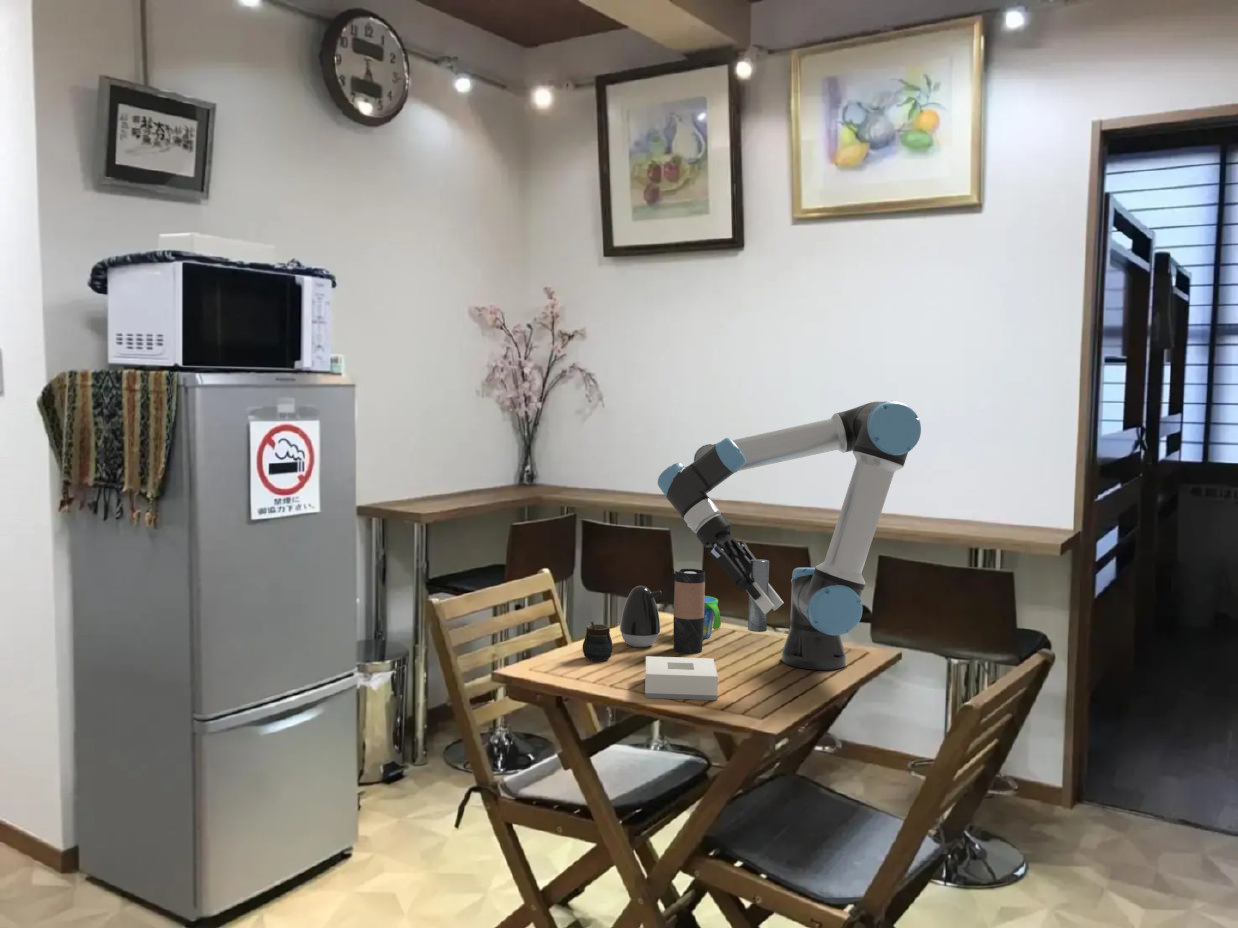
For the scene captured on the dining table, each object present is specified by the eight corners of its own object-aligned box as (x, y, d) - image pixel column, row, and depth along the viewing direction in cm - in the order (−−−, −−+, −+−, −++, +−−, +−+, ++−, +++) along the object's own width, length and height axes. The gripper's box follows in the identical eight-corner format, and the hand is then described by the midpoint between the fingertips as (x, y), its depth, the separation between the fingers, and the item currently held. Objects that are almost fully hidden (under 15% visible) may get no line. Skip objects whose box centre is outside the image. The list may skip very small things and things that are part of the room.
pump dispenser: (654, 651, 248) (656, 590, 248) (614, 647, 251) (616, 587, 250) (664, 642, 258) (666, 584, 257) (625, 639, 261) (627, 581, 260)
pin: (765, 628, 217) (768, 559, 216) (767, 632, 213) (770, 562, 212) (746, 627, 217) (749, 559, 216) (748, 631, 213) (751, 561, 212)
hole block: (712, 680, 223) (713, 658, 222) (717, 700, 208) (717, 676, 208) (645, 678, 223) (645, 656, 223) (644, 697, 208) (645, 674, 208)
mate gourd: (615, 656, 242) (616, 616, 241) (608, 664, 235) (609, 622, 234) (586, 654, 244) (587, 613, 243) (579, 662, 236) (580, 620, 235)
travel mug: (706, 653, 247) (708, 573, 246) (676, 654, 246) (678, 573, 245) (698, 646, 255) (701, 568, 254) (669, 646, 253) (671, 568, 252)
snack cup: (730, 640, 262) (732, 602, 262) (698, 644, 257) (699, 605, 256) (695, 628, 276) (696, 592, 275) (663, 632, 270) (664, 594, 269)
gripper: (715, 531, 230) (779, 612, 222) (678, 538, 216) (744, 625, 207) (737, 510, 227) (802, 592, 218) (700, 516, 212) (769, 603, 204)
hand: (774, 608), depth 213 cm, fingers closed on pin, 4 cm apart
